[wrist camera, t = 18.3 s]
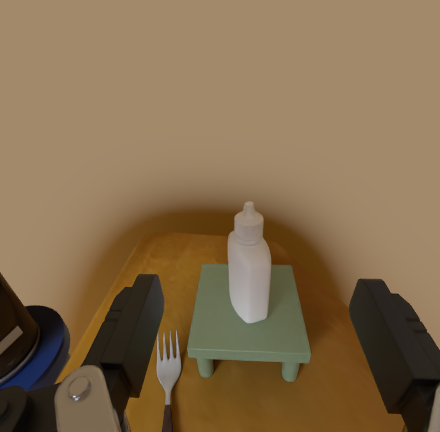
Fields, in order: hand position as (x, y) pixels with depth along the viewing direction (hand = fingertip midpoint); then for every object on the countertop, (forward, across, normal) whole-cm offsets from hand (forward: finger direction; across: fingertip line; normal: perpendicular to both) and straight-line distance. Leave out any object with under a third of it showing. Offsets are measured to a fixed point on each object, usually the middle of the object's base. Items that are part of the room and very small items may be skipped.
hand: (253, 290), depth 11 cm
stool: (+11, 0, +20) cm, 23 cm away
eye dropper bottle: (+11, 0, +15) cm, 18 cm away
